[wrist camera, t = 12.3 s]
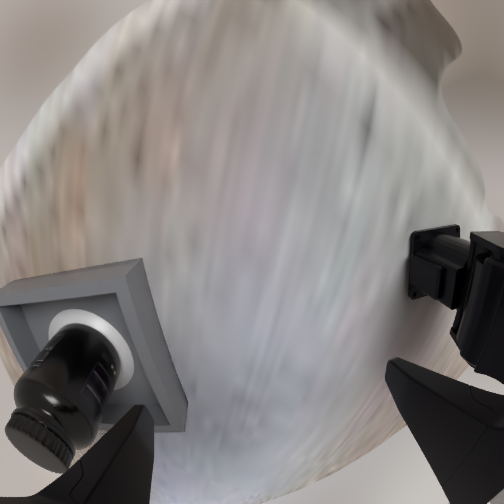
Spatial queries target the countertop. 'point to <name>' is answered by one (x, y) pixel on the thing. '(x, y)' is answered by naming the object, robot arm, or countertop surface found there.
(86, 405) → the supplement bottle
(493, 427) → the robot arm
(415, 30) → the countertop surface
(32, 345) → the housing
